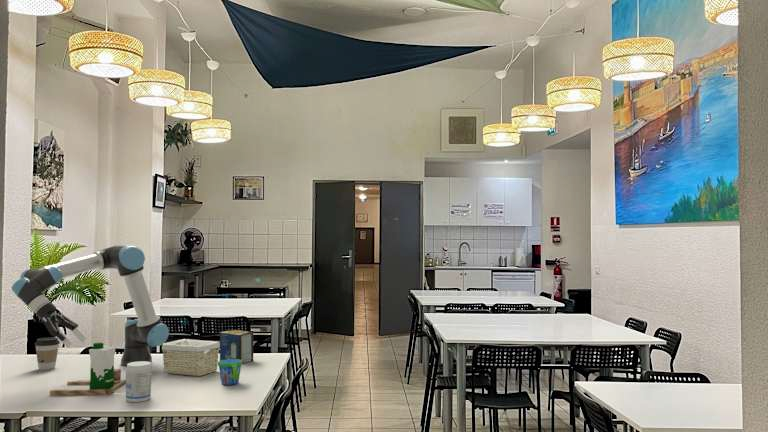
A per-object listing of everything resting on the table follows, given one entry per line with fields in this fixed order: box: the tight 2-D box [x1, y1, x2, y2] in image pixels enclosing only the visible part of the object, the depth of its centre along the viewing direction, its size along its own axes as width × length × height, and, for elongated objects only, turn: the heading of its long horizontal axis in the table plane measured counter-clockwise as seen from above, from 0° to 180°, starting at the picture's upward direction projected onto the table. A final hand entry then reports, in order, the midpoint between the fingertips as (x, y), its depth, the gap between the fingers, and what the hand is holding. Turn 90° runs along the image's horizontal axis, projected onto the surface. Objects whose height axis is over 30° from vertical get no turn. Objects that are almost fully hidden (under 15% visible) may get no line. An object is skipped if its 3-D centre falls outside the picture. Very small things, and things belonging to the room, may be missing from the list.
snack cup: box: [217, 359, 243, 386], centre depth 276 cm, size 16×10×10 cm
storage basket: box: [161, 338, 220, 377], centre depth 300 cm, size 24×16×15 cm
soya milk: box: [88, 342, 117, 390], centre depth 265 cm, size 9×9×20 cm
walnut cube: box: [114, 368, 122, 381], centre depth 277 cm, size 5×5×5 cm
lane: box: [49, 380, 126, 397], centre depth 264 cm, size 25×17×2 cm
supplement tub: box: [125, 361, 153, 403], centre depth 249 cm, size 10×10×15 cm
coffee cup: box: [34, 336, 61, 371], centre depth 308 cm, size 11×11×15 cm
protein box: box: [219, 329, 254, 364], centre depth 327 cm, size 10×15×16 cm
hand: (77, 342), depth 264 cm, fingers open, 13 cm apart
